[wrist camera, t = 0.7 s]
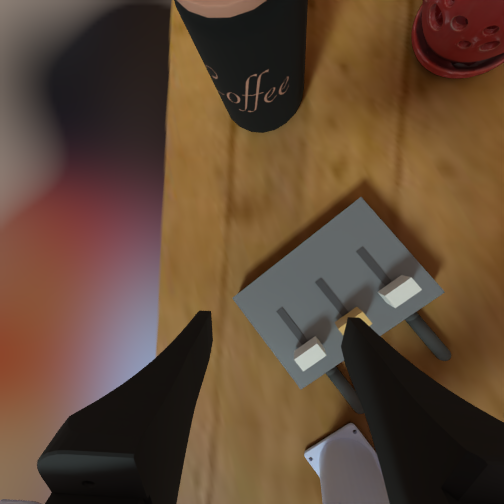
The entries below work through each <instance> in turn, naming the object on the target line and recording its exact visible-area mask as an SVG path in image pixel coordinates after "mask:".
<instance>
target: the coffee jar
mask: <svg viewBox="0 0 504 504" xmlns="http://www.w3.org/2000/svg"><path fill="white" fill-rule="evenodd" d="M174 1H175V5H176V8H177V10H178V12H179V14H180V16H181V18H182V20H183V22H184V24H185V26H186V28H187V30H188V32H189V34H190V36H191V38H192V40H193V42H194V44H195V46H196V48H197V50H198V52H199V54H200V56H201V58H202V60H203V62H204V64H205V66H206V68H207V70H208V72H209V74H210V76H211V78H212V80H213V82H214V85H215V87H216V89H217V91H218V93H219V95H220V97H221V99H222V101H223V103H224V105H225V107H226V109H227V111H228V113H229V115H230V117H231V119H232V120H233V121H234V122H235V123H237V124H238V125H239V126H240V127H242V128H244V129H246V130H249V131H251V132H262V133H264V132H268V131H272V130H275V129H277V128H279V127H280V126H282V125H284V124H285V123H287V121H288V120H289V119H290V118H291V117H292V116H293V115H294V114H295V113H296V111H297V109H298V107H299V105H300V103H301V101H302V96H303V90H304V73H305V50H306V27H307V4H308V0H174Z"/></svg>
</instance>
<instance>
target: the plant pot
mask: <svg viewBox="0 0 504 504" xmlns="http://www.w3.org/2000/svg"><path fill="white" fill-rule="evenodd" d="M412 47H413V50H414V53H415V55H416V57H417V59H418V61H419V62H420V63H421V64H422V65H423V66H424V67H425V68H426V69H427V70H429V71H430V72H432V73H434V74H436V75H439V76H442V77H447V78H468V77H473V76H476V75H480V74H483V73H485V72H488V71H490V70H491V69H493V68H495V67H497V66H499V65H500V64H502V63H503V62H504V0H423V4H422V5H421V7H420V9H419V11H418V13H417V15H416V17H415V20H414V23H413V28H412Z"/></svg>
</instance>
